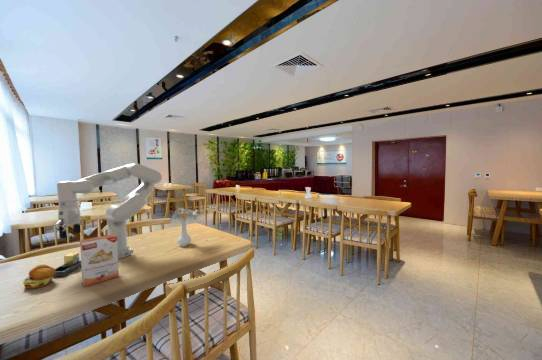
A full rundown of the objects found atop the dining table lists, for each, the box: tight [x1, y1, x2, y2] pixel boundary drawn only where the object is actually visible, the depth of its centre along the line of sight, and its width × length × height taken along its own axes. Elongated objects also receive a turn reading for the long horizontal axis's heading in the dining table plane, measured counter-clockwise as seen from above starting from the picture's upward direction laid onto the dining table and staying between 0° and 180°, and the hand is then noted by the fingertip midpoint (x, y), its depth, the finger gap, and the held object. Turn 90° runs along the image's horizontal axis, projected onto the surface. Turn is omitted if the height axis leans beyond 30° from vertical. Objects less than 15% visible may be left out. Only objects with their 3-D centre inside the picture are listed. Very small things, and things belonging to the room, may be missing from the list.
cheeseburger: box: [22, 264, 56, 290], centre depth 112 cm, size 10×11×10 cm
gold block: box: [63, 252, 80, 266], centre depth 130 cm, size 5×4×7 cm
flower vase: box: [170, 208, 199, 247], centre depth 165 cm, size 13×18×25 cm
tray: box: [53, 259, 81, 278], centre depth 127 cm, size 7×14×2 cm, turn 4°
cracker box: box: [79, 234, 120, 287], centre depth 116 cm, size 14×6×21 cm, turn 135°
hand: (70, 235), depth 129 cm, fingers open, 9 cm apart
